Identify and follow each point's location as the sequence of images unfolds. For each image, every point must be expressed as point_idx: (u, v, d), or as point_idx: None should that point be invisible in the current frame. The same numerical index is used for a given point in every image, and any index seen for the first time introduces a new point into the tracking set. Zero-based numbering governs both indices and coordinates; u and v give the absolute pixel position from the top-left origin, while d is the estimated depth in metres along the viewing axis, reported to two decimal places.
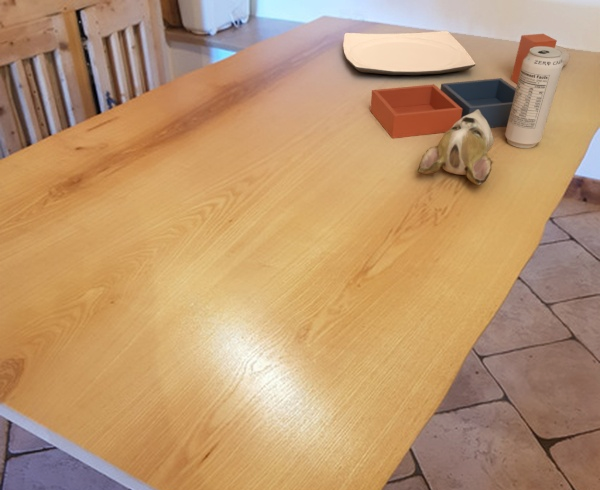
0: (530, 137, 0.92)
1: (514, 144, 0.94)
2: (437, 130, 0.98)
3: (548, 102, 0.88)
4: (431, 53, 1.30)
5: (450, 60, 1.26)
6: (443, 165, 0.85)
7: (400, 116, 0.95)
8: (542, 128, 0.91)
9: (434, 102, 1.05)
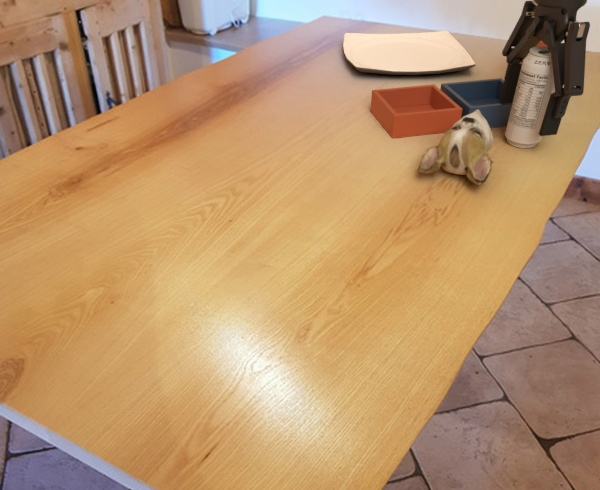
0: (530, 137, 0.92)
1: (514, 144, 0.94)
2: (437, 130, 0.98)
3: None
4: (431, 53, 1.30)
5: (450, 60, 1.26)
6: (443, 165, 0.85)
7: (400, 116, 0.95)
8: None
9: (434, 102, 1.05)
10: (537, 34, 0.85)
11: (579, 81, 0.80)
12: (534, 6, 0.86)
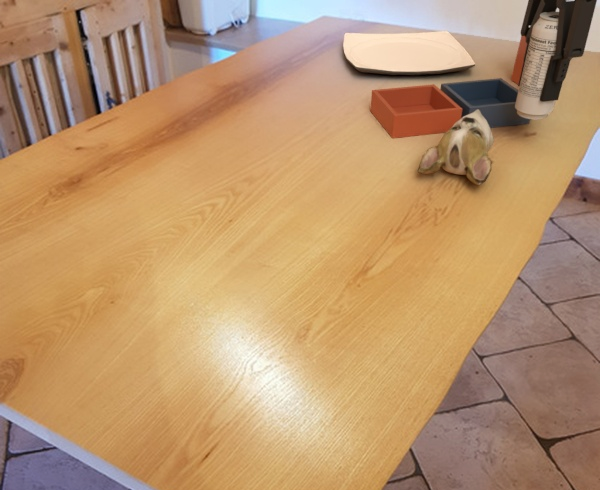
0: (541, 108, 0.88)
1: (525, 116, 0.90)
2: (437, 130, 0.98)
3: None
4: (431, 53, 1.30)
5: (450, 60, 1.26)
6: (443, 165, 0.85)
7: (400, 116, 0.95)
8: None
9: (434, 102, 1.05)
10: None
11: (581, 43, 0.79)
12: None
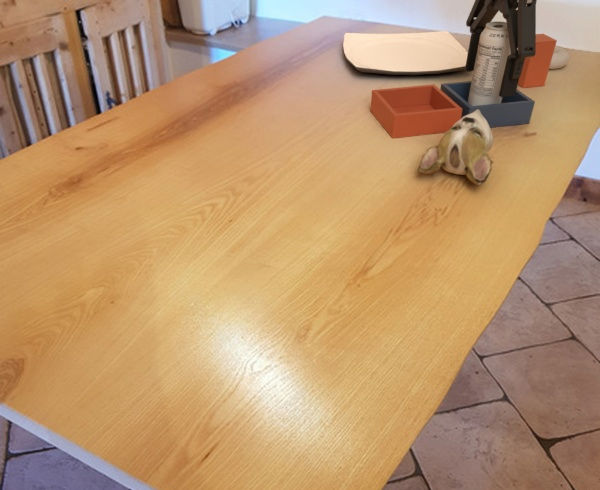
0: None
1: None
2: (437, 130, 0.98)
3: None
4: (431, 53, 1.30)
5: (450, 60, 1.26)
6: (443, 165, 0.85)
7: (400, 116, 0.95)
8: (499, 97, 1.00)
9: (434, 102, 1.05)
10: (494, 4, 0.93)
11: (531, 43, 0.88)
12: None
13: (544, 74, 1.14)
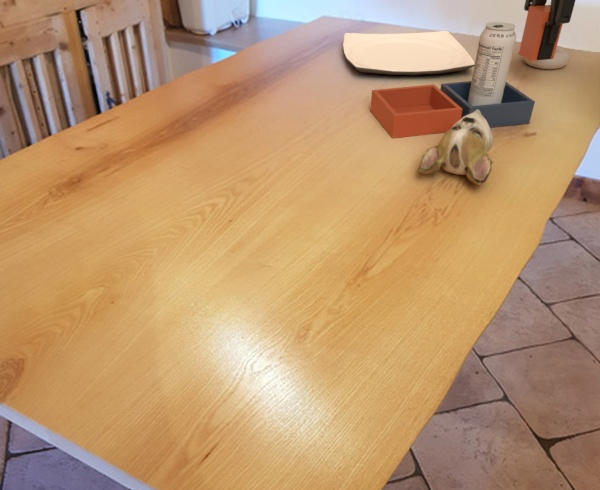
0: None
1: None
2: (437, 130, 0.98)
3: (504, 72, 0.97)
4: (431, 53, 1.30)
5: (450, 60, 1.26)
6: (443, 165, 0.85)
7: (400, 116, 0.95)
8: (499, 97, 1.00)
9: (434, 102, 1.05)
10: None
11: (568, 12, 1.02)
12: None
13: (554, 46, 1.10)
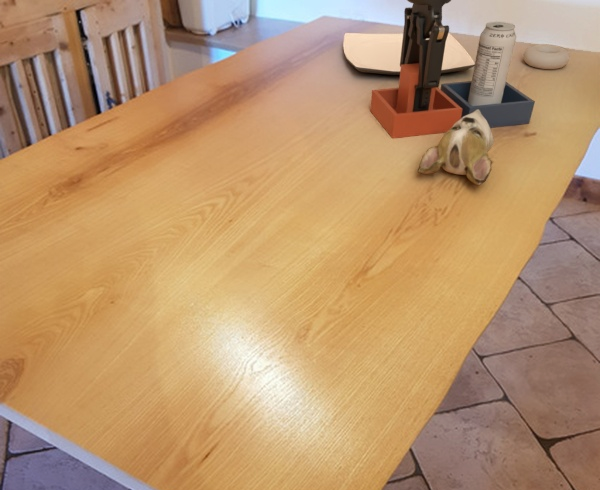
0: None
1: None
2: (437, 130, 0.98)
3: (504, 72, 0.97)
4: None
5: (450, 60, 1.26)
6: (443, 165, 0.85)
7: (400, 116, 0.95)
8: (499, 97, 1.00)
9: (434, 102, 1.05)
10: None
11: (436, 77, 0.91)
12: (412, 9, 0.94)
13: (429, 109, 0.99)
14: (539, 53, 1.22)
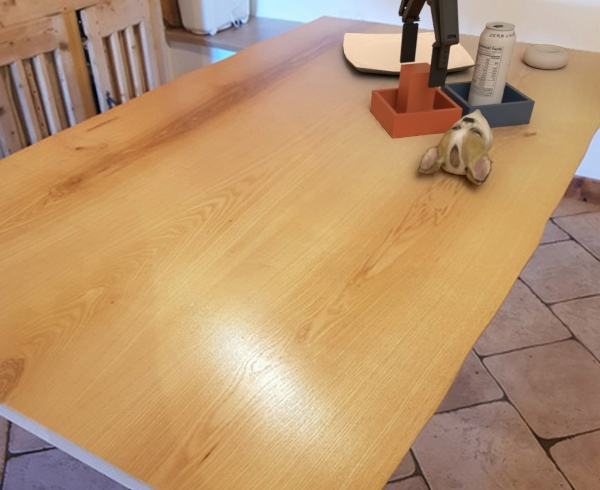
0: None
1: None
2: (437, 130, 0.98)
3: (504, 72, 0.97)
4: (431, 53, 1.30)
5: (450, 60, 1.26)
6: (443, 165, 0.85)
7: (400, 116, 0.95)
8: (499, 97, 1.00)
9: (434, 102, 1.05)
10: None
11: (454, 30, 0.84)
12: None
13: (429, 109, 0.99)
14: (539, 53, 1.22)
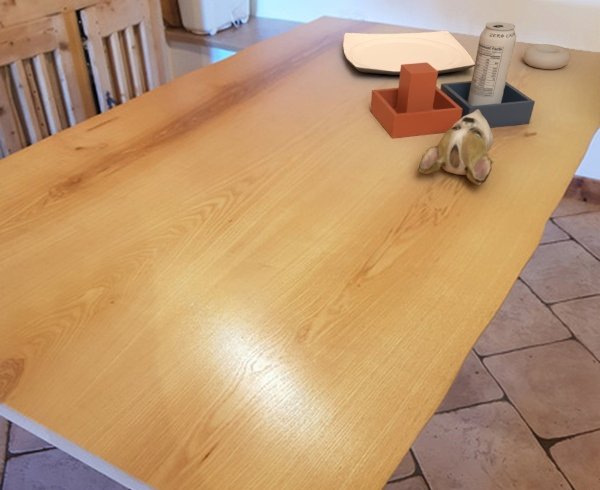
0: None
1: None
2: (437, 130, 0.98)
3: (504, 72, 0.97)
4: (431, 53, 1.30)
5: (450, 60, 1.26)
6: (443, 165, 0.85)
7: (400, 116, 0.95)
8: (499, 97, 1.00)
9: (434, 102, 1.05)
10: None
11: None
12: None
13: (429, 109, 0.99)
14: (539, 53, 1.22)
